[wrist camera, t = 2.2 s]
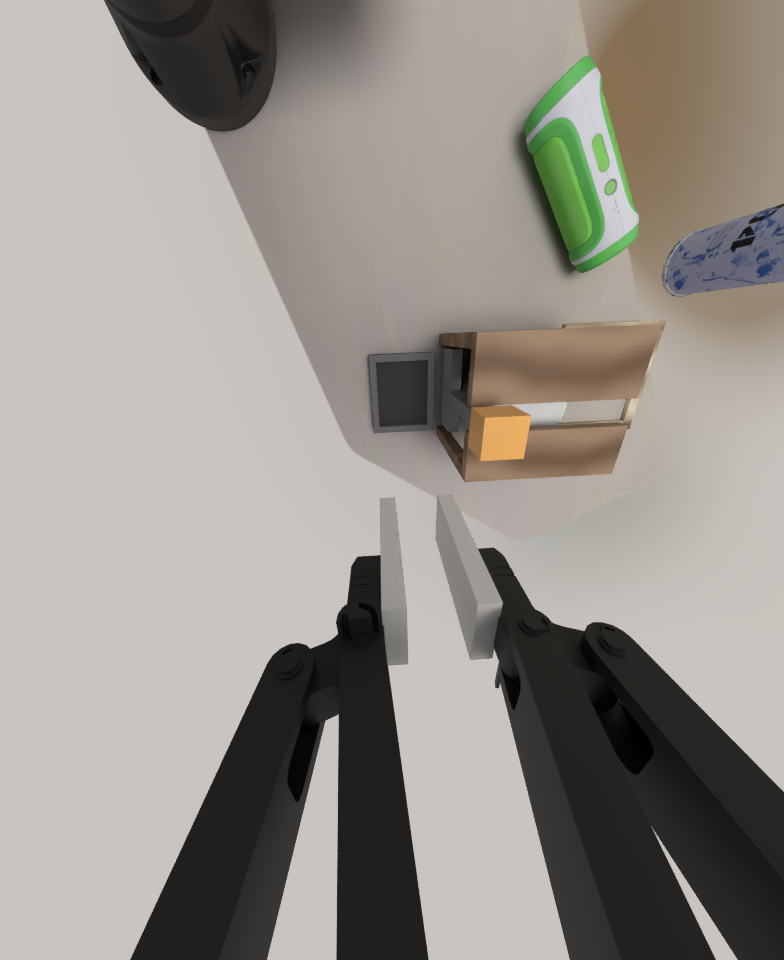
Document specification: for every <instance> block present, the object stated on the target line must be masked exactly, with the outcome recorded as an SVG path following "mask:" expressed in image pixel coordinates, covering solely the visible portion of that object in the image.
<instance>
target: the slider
mask: <svg viewBox="0 0 784 960" xmlns="http://www.w3.org/2000/svg"><path fill="white" fill-rule="evenodd" d="M462 359H463V349H458V348H443V365H442V392H441V418H440V422H441V423H442V424H443V426H444V427H445V428H446V430H447V431H448V432H454V431H458V419H459V417H460V418H461V419H462V420H463V421H464V422H465V423H466V424H467V425H468V426H469V427H470V429H469V440H468V447H469V448H470V449H471V450H472V452H473V453H474V454H475V455H476V457H477V458H478V459H479V460H480V461H493V460H512V459H524V454H525V449H526V443H527V438H528V432H529V427H530V421H531V416H532V415H530V414H528V413H526V412H524V411H522V410H520V409H518V408H516V407H514V406H512V405H509V406H488V407H486V406H470V405H468V404H467V399H468V395H467V394H466V393H464V392H463V391H460V389H461V374H462Z"/></svg>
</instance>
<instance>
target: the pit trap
mask: <svg viewBox="0 0 784 960" xmlns="http://www.w3.org/2000/svg"><path fill="white" fill-rule="evenodd" d="M369 368H370V383H371V397H372V412H373V426H374V433H385V432H405V431H425V430H433V414H434V376H435V352H420V353H398V354H376V355H369Z"/></svg>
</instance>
